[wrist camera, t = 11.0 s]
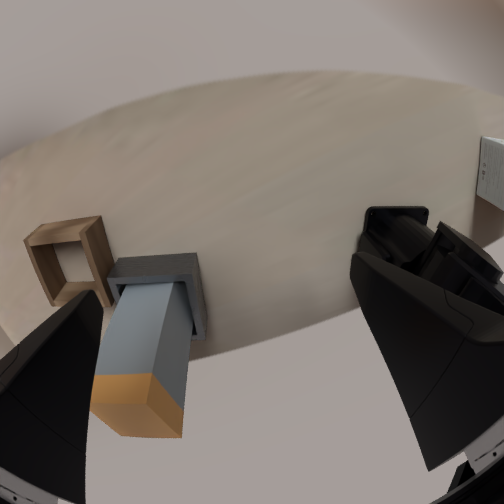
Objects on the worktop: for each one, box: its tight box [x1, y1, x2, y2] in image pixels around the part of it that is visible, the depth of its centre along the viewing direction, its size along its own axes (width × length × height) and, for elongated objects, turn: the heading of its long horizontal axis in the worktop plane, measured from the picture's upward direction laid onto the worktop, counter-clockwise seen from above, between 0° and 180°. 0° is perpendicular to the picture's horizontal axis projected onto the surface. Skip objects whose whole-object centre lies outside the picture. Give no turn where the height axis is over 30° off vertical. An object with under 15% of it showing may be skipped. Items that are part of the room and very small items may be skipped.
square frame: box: [23, 216, 115, 307], centre depth 20 cm, size 7×7×3 cm
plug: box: [90, 281, 194, 438], centre depth 18 cm, size 4×4×13 cm
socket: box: [107, 253, 207, 340], centre depth 23 cm, size 7×7×3 cm
